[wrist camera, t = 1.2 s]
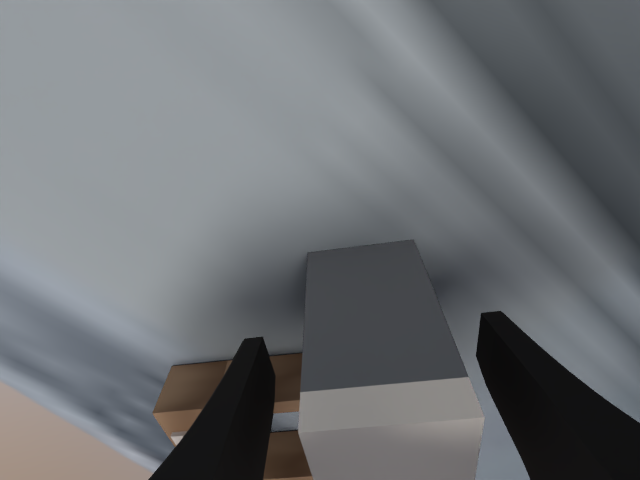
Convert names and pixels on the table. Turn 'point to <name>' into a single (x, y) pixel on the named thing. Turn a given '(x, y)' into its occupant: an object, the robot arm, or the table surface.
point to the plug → (382, 372)
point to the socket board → (198, 386)
